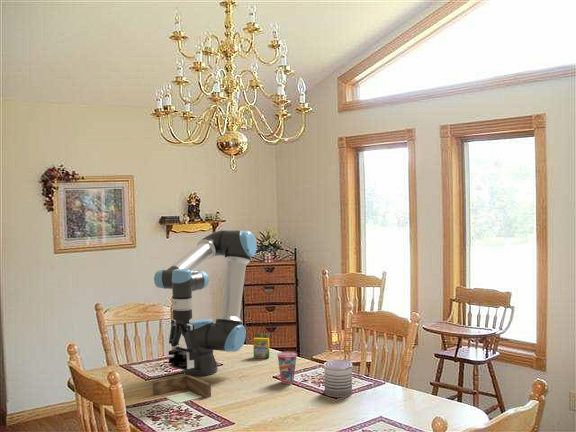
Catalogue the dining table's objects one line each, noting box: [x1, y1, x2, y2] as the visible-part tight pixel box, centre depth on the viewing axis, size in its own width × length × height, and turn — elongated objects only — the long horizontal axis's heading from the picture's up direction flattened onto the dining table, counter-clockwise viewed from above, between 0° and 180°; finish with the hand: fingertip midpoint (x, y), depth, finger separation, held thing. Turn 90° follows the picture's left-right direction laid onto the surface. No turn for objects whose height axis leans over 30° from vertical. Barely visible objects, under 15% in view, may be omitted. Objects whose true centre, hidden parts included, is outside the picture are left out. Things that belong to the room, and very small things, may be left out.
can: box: [323, 359, 353, 398], centre depth 255 cm, size 11×11×12 cm
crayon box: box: [253, 333, 270, 360], centre depth 311 cm, size 7×3×12 cm, turn 80°
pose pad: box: [165, 391, 202, 404], centre depth 252 cm, size 11×9×1 cm
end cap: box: [168, 346, 198, 370], centre depth 251 cm, size 10×7×7 cm
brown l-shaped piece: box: [152, 374, 212, 398], centre depth 254 cm, size 16×18×5 cm
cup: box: [277, 351, 298, 385], centre depth 270 cm, size 9×8×12 cm
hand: (183, 365), depth 251 cm, fingers closed on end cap, 10 cm apart
